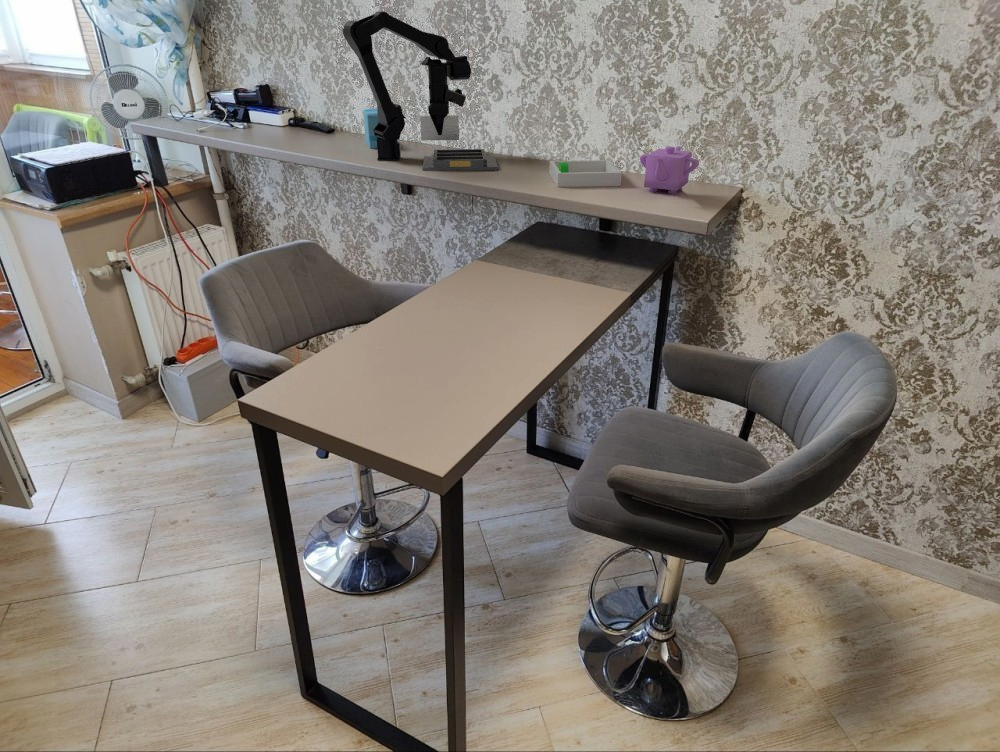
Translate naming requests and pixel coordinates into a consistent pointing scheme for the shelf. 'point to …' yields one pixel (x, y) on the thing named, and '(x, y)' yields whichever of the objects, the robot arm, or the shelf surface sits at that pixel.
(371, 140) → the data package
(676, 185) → the teapot
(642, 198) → the shelf surface
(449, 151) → the rack
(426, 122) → the panel
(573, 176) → the parts corral
